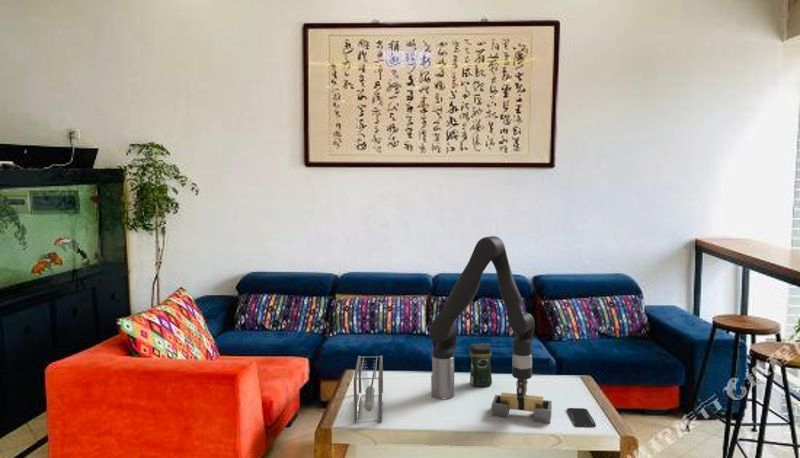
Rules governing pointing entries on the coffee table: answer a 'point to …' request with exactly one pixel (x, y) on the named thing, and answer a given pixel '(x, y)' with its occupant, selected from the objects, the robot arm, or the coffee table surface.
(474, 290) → the robot arm
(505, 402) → the link bar
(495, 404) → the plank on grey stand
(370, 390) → the newton's cradle
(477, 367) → the coffee jar
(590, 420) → the phone
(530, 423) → the coffee table surface
